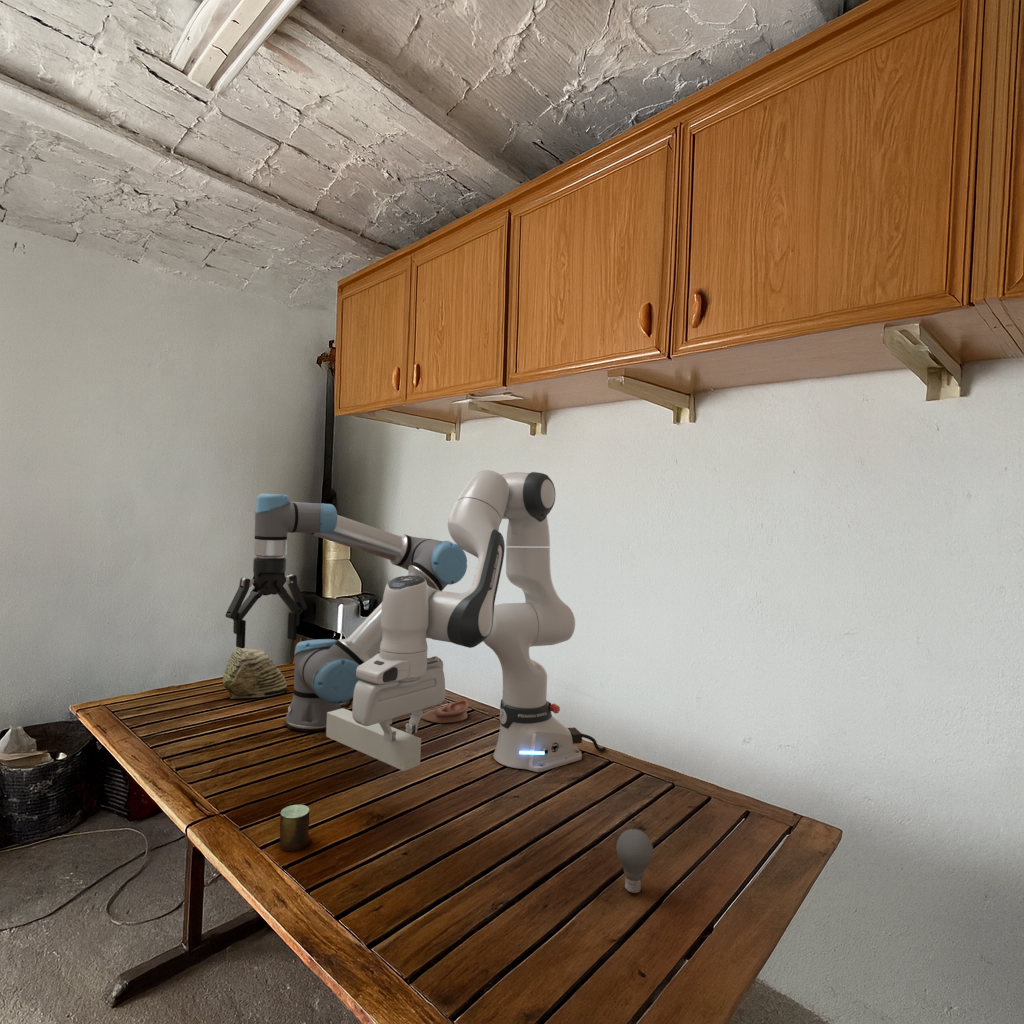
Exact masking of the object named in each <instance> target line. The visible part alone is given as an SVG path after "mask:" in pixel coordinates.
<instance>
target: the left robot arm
mask: <svg viewBox="0 0 1024 1024" xmlns="http://www.w3.org/2000/svg"><path fill="white" fill-rule="evenodd" d="M289 499H290V497H289V495H287V494H279V493H278V494H277V493H260V494H258V495H257V496H256V498H255V508H254V540H253V541H254V542H253V555H254V556H255V557H254V558H253V560H252V561H253V563H252V564H253V565H252V572H253V576H252V578H247V577H240V579H239V586H238V588H237V590H236V592H235V594H234V596H233V598H232V600H231V601H230V602H231V603H230V605H229V606H228V608H227V611H226V612H225V618H227V619H230V620H232V621H233V627H232V629H233V631H232V632H233V634H235V635H236V637H235V647H236V648H238V647H239V648H245V647H246V631H247V630H246V626H247V620H245V617H246V615H248V613H249V612H250V610H251V609H252V608H253V606H254V605H256V603H257V602H258V600H259V599H261V598H262V597H263V596H270V595H273V596H274V595H275V596H276V595H277V596H279V597H280V599H281V600H282V602H283V603H284V604H285V605H286V606H287V607H288V609H289V610H290V611H291V612H288V613H287V614H288V616H287V639H288V640H292V641H296V640H297V630H298V629H297V627H299V625H300V615H301V614H303V611H306V610H307V609H308V606H307V603H306V601H305V599H304V596H303V594H302V591H301V588H300V587H299V584H298V576H297V575H295V574H290V573H289V574H287V575H286V571H287V558H286V557H285V556H287V555H288V533H291V534H295V533H299V534H300V533H302V534H306V535H307V534H308V535H311V536H314V537H317V538H320V539H322V540H323V539H324V540H327V541H329V542H333V543H336V544H340V545H341V546H344V547H345V546H346V547H348V548H351V549H354V550H357V551H361V552H364V553H367V554H370V555H373V556H376V557H379V558H383V559H386V560H389V561H390V563H391V564H392V565H394V566H397V567H399V568H402V569H404V570H406V571H407V575H406V576H408V575H414V576H420V577H423V578H424V579H425V580H426V582H427V585H428V586H429V587H431V588H433V589H436V590H439V591H443V590H444V589H445V588H446V587H447V586H450V585H455V584H457V583H459V582H460V581H461V580H462V579H463V578H464V577H465V575H466V572H467V570H468V569H467V568H468V558H467V554H466V553H465V552H466V551H464V550H463V549H462V548H460V547H459V546H458V545H457V544H456V543H455V542H452V541H450V540H439V539H433V538H425V537H417V536H411V535H408V534H405V533H401V534H399V535H397V534H395V533H392V532H389V531H386V530H383V529H381V528H377V527H374V526H371V525H368V524H366V523H363V522H359V521H357V520H354V519H351V518H348V517H345V516H342V515H339V514H338V511H337V509H336V506H334V505H333V504H331V503H324V502H322V503H321V502H320V503H318V502H315V503H314V502H304V501H303V502H301V501H299V500H296V501H295V500H294V501H291V502H290V500H289ZM285 584H287V585H288V589H289V591H290V593H291V595H290V594H289V593H288V590H287V589H286V588H285V587H284V585H285ZM252 586H253V587H252ZM250 587H252V589H251V591H250V592H249V590H250ZM248 593H249V595H248ZM246 596H247V597H246ZM291 596H292V597H291ZM381 610H382V602H381V603H379V605H377V607H376V608H374V609H373V611H372V612H371V613H370V614H369V615H368V616H367V617H366V619H364V620H363V621H362V622H361V624H359V625H358V627H357V628H355V630H354V631H352V633H351V634H350V635H349V636H348V637H346V638H339V639H332V638H323V639H322V638H320V639H307V640H303V641H299V642H297V644H296V645H295V650H294V653H293V654H294V655H293V656H294V672H293V673H294V674H293V695H292V696H293V697H292V699H291V702H290V704H289V705H288V708H287V713H286V715H285V726H286V728H287V729H289V730H291V731H294V732H295V731H296V732H301V733H316V732H326V725H327V712H331V711H334V710H338V709H342V708H346V707H348V706H349V705H350V703H351V700H353V695H354V689H355V686H356V684H357V682H358V681H359V680H360V678H358V677H357V676H356V669H357V667H358V666H360V665H361V664H363V663H365V662H366V661H368V660H369V659H371V658H372V657H374V656H375V655H376V654H378V653H380V644H381V641H382V636H383V633H382V628H381Z"/></svg>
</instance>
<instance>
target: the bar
mask: <svg viewBox="0 0 1024 1024" xmlns="http://www.w3.org/2000/svg"><path fill="white" fill-rule="evenodd" d="M390 727H391V729H392V730H393V731H396V736H395V737H396V740H394V741H392V742H386V741H384V731H383V730H382V728H381V726H380V724H379V723H376V724H373V725H370V726H364V725H361V724H359V723H357V722H355V720H354V719H353V716H352V710H349V709H347V708H345V707H343V708H341V709H338V710H334V711H331V712H327V725H326V730H325V737H326V738H329V739H330V740H333V741H336V742H338V743H340V744H342V745H344V746H345V747H346V746H347V747H348V748H351V749H353V750H355V751H358V752H359V753H362V754H363V755H364V754H365V755H366V756H369V757H370V758H371V757H372V758H374V759H375V760H378V761H379V762H382V763H384V764H387V765H389V766H391V767H393V768H396V769H398V770H400V771H402V772H405V771H408V770H411V769H413V768H416V767H418V766H420V765H421V755H422V754H421V752H422V751H421V750H422V738H421V737H419V736H416V735H415V734H412V735H411V734H409V733H406V731H404V730H401V729H399V728H395V727H394V726H390Z"/></svg>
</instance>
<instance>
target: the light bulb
mask: <svg viewBox="0 0 1024 1024" xmlns="http://www.w3.org/2000/svg"><path fill="white" fill-rule="evenodd" d="M615 849H616V854H617V857H618V859H619V861H620V863H621V865H622V867H623V873H624V874H623V875H624V876H625V878H624V888H625V890H627V891H628V892H630V893H634V894H635V893H639V892H640V891H641V889H642V887H641V886H642V879H643V877H644V875H645V871H646V868H647V867H648V866H649V864H650V863H651V861H652V859H653V855H654V847H653V843H652V841H651V838H649V836H648V835H647V834H646V833H645V832H643V831H642V830H641V829H636V828H629V829H627V830H625V831H623V832H622V833H621V834H620V835H619V837H618V839H617V841H616V847H615Z"/></svg>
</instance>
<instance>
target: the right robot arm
mask: <svg viewBox="0 0 1024 1024" xmlns="http://www.w3.org/2000/svg"><path fill="white" fill-rule="evenodd" d="M555 502H556V487H555V484H554V482H553V480H552V479H551V478H550V476H549V475H547V474H545V473H542V472H537V471H531V472H518V471H517V472H507V473H502V474H500V473H498V472H496V471H494V470H491V469H484V470H480V471H477V472H476V473H475V474H474V475H472V477H471V478H470V479H469V481H468V482H467V483H466V484H465V486H464V488H462V490H461V492H460V494H459V495H458V497H457V499H456V500H455V503H454V504H453V506H452V509H451V510H450V513H449V516H448V520H447V529H448V533H449V536H450V537H451V539H452V540H453V543H455V544H457V545H458V546H459V547H460V548H462V549H463V551H464V552H466V553H468V554H470V555H472V556H474V557H475V558H477V564H476V567H475V571H474V576H473V579H472V580H473V581H472V584H471V588H470V589H468V590H467V591H465V592H461V593H460V592H451V591H450V592H449V591H443V590H442V591H439V590H436V589H433V588H431V587H429V586H428V585H427V582H426V580H425V579H424V578H423V577H420V576H414V575H408V574H407V575H408V576H407V575H401V576H396V577H394V578H392V579H390V580H388V581H387V583H386V585H385V588H384V591H383V596H382V601H381V603H382V610H381V628H382V633H383V636H382V641H381V644H380V651H379V652H378V653H377V654H376V655H375V656H374V657H372V658H371V659H369V660H368V661H366V662H365V663H363V664H361V665H360V666H358V667H357V669H356V676H357V677H358V678H360V680H359V681H358V682H357V684H356V686H355V689H354V695H353V699H352V706H351V707H352V708H351V709H352V710H351V711H352V716H353V719H354V720H355V722H357V723H359V724H361V725H364V726H370V725H373V724H376V723H379V724H380V726H381V728H382V730H383V731H384V741H386V742H392V741H394V740H396V737H395V736H396V731H393V730H392V729H391V727H392V726H391V725H393V719H395V718H399V717H402V716H405V715H408V714H411V715H410V718H409V720H408V722H407V723H405V731H404V732H406V733H409V734H411V735H415V734H417V733H418V725H419V724H420V721H421V720H422V718H421V717H422V715H423V713H424V709H428V708H431V707H434V706H437V705H440V704H443V703H444V700H445V698H446V680H445V679H446V678H445V672H444V662H443V660H442V659H441V658H440V657H438V656H436V655H435V656H431V657H428V647H429V645H428V642H427V641H428V640H427V639H430V640H433V641H439V642H446V643H452V644H454V645H457V646H461V647H464V648H469V649H471V648H475V647H477V646H478V645H480V644H481V643H484V644H485V645H486V646H487V647H488V648H489V649H491V651H493V652H494V654H495V656H496V658H497V659H498V661H499V664H500V666H501V667H500V668H501V673H502V696H501V697H502V698H501V700H500V706H499V724H500V725H499V731H498V737H497V741H496V744H495V745H496V746H495V749H494V751H493V754H492V757H493V759H494V760H495V762H496V763H499V764H501V765H502V766H505V767H509V768H513V769H518V770H519V769H521V770H526V771H527V770H528V771H531V772H533V773H542V772H546V771H549V770H552V769H556V768H559V767H562V766H566V765H568V764H571V763H575V762H578V761H581V760H582V759H583V753H582V752H581V750H580V749H579V747H577V746H576V745H578V744H583V738H585V739H587V740H589V741H590V742H592V744H593V746H594V748H595V750H596V751H598V752H601V753H603V752H606V751H607V748H606V747H605V746H604V747H600V746H599V745H598V742H597V740H596V739H595V738H594V737H592V736H591V735H588V734H585V733H582V732H581V731H579V730H578V729H577V728H576V727H566V725H564V724H563V723H562V722H561V721H560V720H559V719H557V718H556V717H554V716H553V714H552V712H553V713H554V714H559V713H560V711H561V707H560V706H559V705H558V704H556V703H552V702H550V701H548V700H547V697H548V673H547V671H546V669H545V667H544V666H543V665H542V664H541V663H539V662H537V661H536V660H535V659H532V658H531V656H530V648H531V647H532V648H533V647H546V646H554V645H558V644H562V643H563V642H566V641H569V640H570V639H571V638H572V637H573V635H574V633H575V631H576V618H575V614H574V612H573V610H572V608H571V607H569V605H568V604H566V603H565V602H564V601H563V600H562V599H561V598H560V596H559V594H558V593H557V591H556V588H555V585H554V584H553V580H552V573H551V570H552V569H551V538H550V537H551V536H550V527H549V521H548V515H549V514H550V513H551V511H552V509H553V507H554V505H555ZM502 520H508V521H507V522H508V523H507V530H506V541H505V538H504V536H503V534H502V533H501V532H500V531H499V530H500V525H501V524H502ZM505 542H506V544H505ZM504 558H505V573H506V574H505V575H506V577H507V580H508V581H509V582H510V583H511V584H512V585H514V586H515V587H517V588H519V589H520V590H522V592H523V595H524V599H525V602H508V603H506V602H504V603H500V604H495V602H496V597H497V592H498V588H499V583H500V578H501V573H502V569H503V563H504ZM575 744H576V745H575Z"/></svg>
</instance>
